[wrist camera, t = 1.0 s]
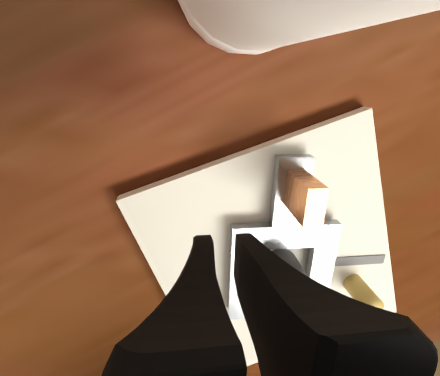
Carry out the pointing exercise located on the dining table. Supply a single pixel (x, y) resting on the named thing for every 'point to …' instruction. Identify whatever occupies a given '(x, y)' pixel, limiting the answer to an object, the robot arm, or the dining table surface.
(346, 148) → the base board
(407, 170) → the dining table surface
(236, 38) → the bottle
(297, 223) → the grey metal bracket
